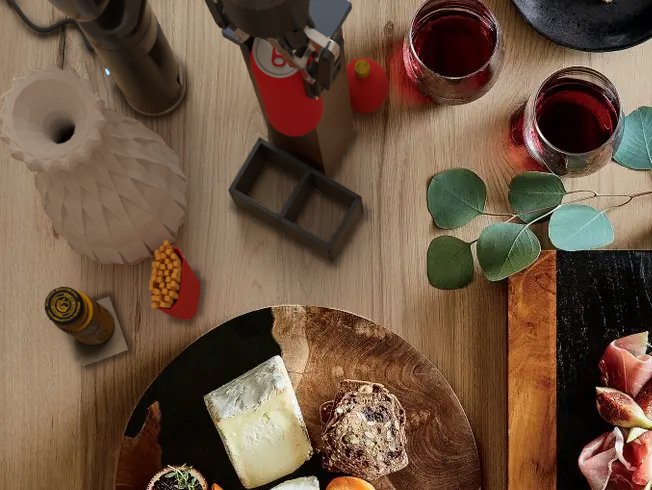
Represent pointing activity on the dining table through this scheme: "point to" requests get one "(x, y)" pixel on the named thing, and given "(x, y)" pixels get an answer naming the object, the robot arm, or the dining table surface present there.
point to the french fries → (174, 284)
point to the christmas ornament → (366, 85)
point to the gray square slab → (318, 17)
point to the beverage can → (283, 91)
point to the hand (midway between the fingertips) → (285, 72)
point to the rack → (295, 198)
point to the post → (318, 126)
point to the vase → (94, 167)
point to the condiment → (86, 323)
